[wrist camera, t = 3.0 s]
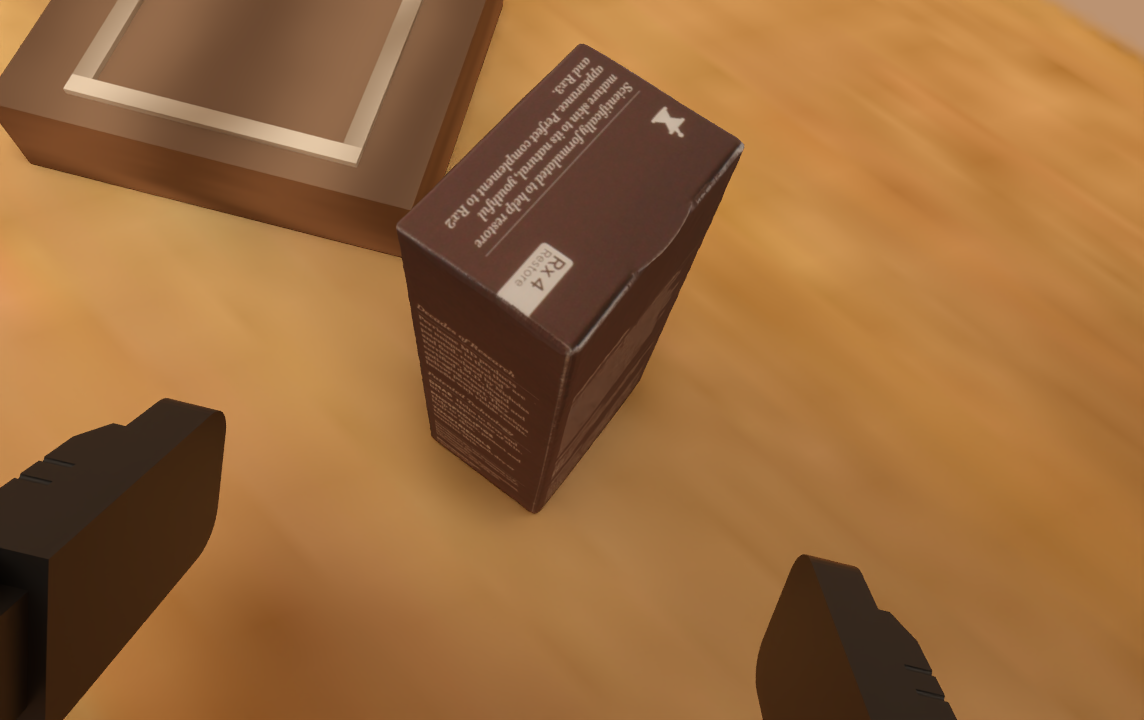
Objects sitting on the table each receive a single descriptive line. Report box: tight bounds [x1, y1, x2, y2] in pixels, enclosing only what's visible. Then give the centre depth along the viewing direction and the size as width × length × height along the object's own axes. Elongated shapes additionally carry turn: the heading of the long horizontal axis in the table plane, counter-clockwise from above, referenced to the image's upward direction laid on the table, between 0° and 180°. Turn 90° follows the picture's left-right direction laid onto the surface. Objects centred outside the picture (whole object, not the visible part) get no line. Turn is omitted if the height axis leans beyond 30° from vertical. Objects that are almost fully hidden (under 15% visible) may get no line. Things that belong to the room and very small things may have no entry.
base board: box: [0, 0, 503, 257], centre depth 29 cm, size 13×12×3 cm
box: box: [396, 44, 744, 513], centre depth 21 cm, size 6×4×12 cm
